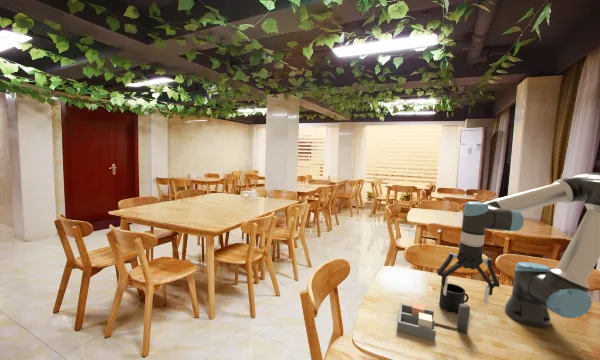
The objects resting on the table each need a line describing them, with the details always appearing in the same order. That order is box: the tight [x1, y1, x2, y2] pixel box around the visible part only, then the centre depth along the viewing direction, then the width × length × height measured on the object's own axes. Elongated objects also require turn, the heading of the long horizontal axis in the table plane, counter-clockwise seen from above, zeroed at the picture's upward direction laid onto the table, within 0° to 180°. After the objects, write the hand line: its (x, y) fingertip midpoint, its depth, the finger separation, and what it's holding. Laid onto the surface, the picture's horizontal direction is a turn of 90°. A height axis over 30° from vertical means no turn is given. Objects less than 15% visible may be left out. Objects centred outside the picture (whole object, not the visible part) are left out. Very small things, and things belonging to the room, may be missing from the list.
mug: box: [438, 282, 470, 314], centre depth 127 cm, size 9×12×9 cm
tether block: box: [411, 301, 471, 335], centre depth 114 cm, size 20×4×10 cm, turn 68°
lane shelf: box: [396, 302, 437, 341], centre depth 114 cm, size 13×15×4 cm
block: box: [418, 312, 432, 329], centre depth 109 cm, size 4×4×6 cm
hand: (464, 298), depth 110 cm, fingers open, 13 cm apart
